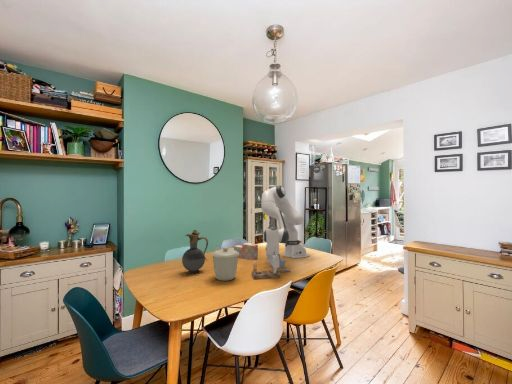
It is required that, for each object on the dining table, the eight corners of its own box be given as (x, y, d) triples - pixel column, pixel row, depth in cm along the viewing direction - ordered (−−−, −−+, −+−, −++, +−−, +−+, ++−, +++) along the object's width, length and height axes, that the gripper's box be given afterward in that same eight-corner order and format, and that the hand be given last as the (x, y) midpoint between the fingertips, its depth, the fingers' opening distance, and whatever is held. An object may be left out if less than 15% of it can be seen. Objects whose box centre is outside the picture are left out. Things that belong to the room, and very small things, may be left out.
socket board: (276, 273, 171) (276, 269, 171) (280, 277, 163) (280, 273, 163) (251, 275, 167) (251, 271, 167) (253, 279, 160) (253, 275, 160)
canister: (206, 277, 163) (206, 246, 163) (229, 271, 175) (229, 242, 175) (221, 285, 149) (221, 251, 149) (244, 278, 161) (244, 246, 161)
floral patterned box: (233, 256, 215) (233, 242, 215) (238, 255, 221) (238, 241, 220) (254, 260, 204) (254, 245, 204) (258, 258, 209) (258, 244, 209)
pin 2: (274, 275, 168) (273, 264, 168) (275, 276, 165) (275, 266, 165) (270, 275, 167) (270, 265, 167) (271, 276, 165) (271, 266, 165)
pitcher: (180, 272, 174) (180, 230, 173) (205, 267, 185) (204, 227, 185) (185, 276, 165) (185, 232, 165) (211, 271, 176) (211, 229, 176)
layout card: (289, 270, 177) (289, 268, 177) (290, 271, 174) (290, 270, 174) (279, 271, 176) (279, 269, 176) (281, 272, 173) (281, 270, 173)
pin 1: (256, 270, 179) (256, 260, 179) (256, 271, 176) (256, 261, 176) (252, 270, 178) (252, 260, 178) (253, 271, 176) (253, 261, 175)
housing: (283, 265, 189) (283, 252, 189) (285, 267, 184) (285, 254, 184) (270, 266, 187) (270, 253, 187) (272, 268, 182) (272, 255, 182)
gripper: (281, 254, 157) (281, 275, 157) (273, 246, 177) (273, 265, 177) (272, 254, 155) (272, 276, 155) (264, 247, 175) (264, 266, 175)
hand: (272, 270), depth 166 cm, fingers open, 8 cm apart
